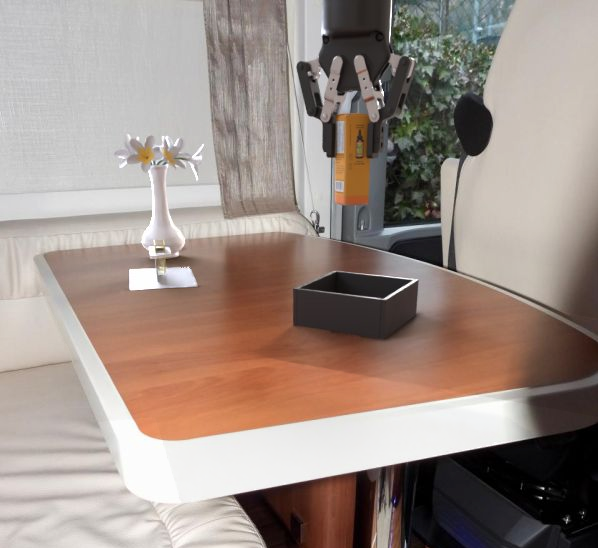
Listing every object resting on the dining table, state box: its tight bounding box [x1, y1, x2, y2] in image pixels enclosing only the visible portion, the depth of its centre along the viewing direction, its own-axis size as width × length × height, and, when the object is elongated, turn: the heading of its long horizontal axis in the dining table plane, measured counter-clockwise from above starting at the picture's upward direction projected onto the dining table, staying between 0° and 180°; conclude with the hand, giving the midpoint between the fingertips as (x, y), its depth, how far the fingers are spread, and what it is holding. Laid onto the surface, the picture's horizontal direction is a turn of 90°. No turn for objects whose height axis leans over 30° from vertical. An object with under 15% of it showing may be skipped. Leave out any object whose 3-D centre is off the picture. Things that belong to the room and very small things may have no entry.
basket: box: [292, 270, 420, 340], centre depth 89 cm, size 13×13×7 cm
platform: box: [129, 240, 199, 291], centre depth 120 cm, size 12×18×7 cm, turn 14°
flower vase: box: [113, 133, 205, 260], centre depth 137 cm, size 13×18×25 cm
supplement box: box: [334, 112, 371, 206], centre depth 75 cm, size 3×3×10 cm
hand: (352, 157), depth 75 cm, fingers closed on supplement box, 4 cm apart
